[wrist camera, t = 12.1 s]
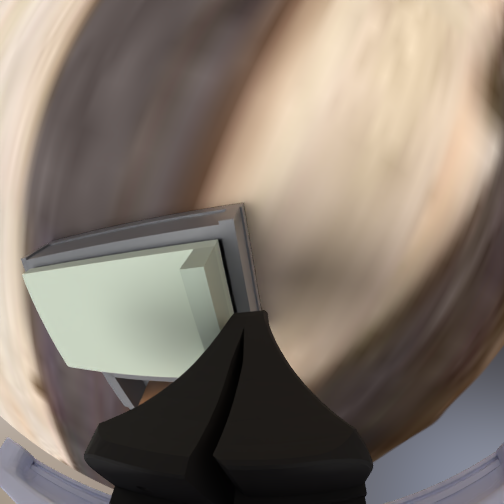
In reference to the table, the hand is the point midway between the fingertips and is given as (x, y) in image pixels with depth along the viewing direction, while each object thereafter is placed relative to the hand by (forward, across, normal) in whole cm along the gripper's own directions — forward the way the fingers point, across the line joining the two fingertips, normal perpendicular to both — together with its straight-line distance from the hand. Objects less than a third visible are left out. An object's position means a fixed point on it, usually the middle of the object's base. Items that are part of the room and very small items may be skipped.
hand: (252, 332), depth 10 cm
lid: (+2, +7, 0) cm, 7 cm away
